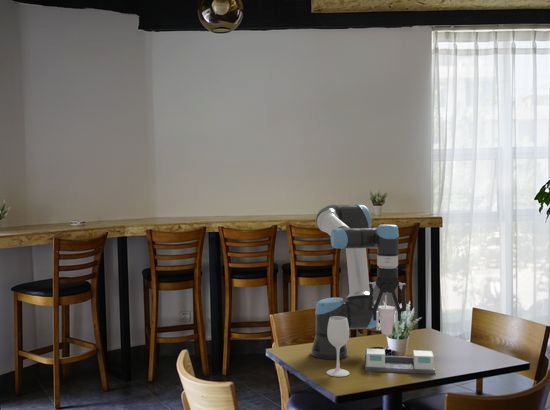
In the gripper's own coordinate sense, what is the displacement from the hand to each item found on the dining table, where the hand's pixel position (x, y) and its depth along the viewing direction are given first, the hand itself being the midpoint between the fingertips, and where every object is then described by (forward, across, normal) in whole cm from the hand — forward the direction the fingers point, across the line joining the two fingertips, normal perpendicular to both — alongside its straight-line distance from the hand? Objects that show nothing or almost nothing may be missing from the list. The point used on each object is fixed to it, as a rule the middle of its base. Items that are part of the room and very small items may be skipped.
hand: (386, 329), depth 232 cm
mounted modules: (+17, +5, +12) cm, 21 cm away
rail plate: (+18, +5, +13) cm, 23 cm away
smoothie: (+2, 0, 0) cm, 2 cm away
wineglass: (+18, -18, +3) cm, 26 cm away
